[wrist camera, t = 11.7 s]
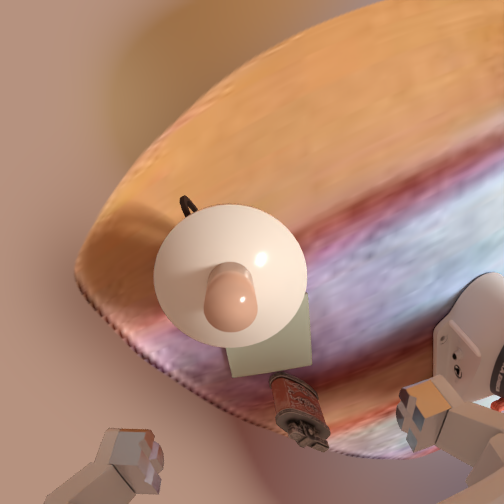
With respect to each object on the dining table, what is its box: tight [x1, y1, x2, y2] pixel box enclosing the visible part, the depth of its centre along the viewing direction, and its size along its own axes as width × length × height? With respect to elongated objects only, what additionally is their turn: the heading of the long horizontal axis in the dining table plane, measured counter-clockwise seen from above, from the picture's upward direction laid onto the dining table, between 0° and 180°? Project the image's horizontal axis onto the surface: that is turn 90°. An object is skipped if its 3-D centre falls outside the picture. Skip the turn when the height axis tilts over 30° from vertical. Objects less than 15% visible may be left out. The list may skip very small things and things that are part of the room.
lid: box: [154, 203, 307, 348], centre depth 21 cm, size 11×11×5 cm
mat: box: [226, 292, 312, 378], centre depth 36 cm, size 10×10×1 cm
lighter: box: [269, 372, 330, 452], centre depth 35 cm, size 8×3×10 cm, turn 48°
